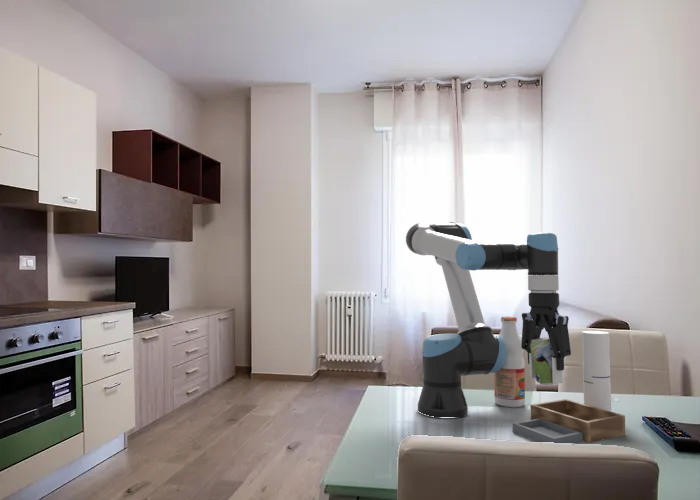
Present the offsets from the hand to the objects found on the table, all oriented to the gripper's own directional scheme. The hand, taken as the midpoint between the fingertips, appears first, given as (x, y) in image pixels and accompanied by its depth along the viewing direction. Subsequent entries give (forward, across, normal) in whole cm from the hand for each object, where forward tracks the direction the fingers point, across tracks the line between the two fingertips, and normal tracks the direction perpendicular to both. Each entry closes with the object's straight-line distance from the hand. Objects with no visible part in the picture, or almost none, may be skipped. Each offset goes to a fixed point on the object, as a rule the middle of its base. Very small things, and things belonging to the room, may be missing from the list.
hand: (545, 380), depth 130 cm
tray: (+15, 0, 0) cm, 15 cm away
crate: (+15, +2, -12) cm, 19 cm away
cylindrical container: (+15, +5, -26) cm, 30 cm away
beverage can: (+1, 0, 0) cm, 1 cm away
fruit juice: (+15, +29, -14) cm, 36 cm away
